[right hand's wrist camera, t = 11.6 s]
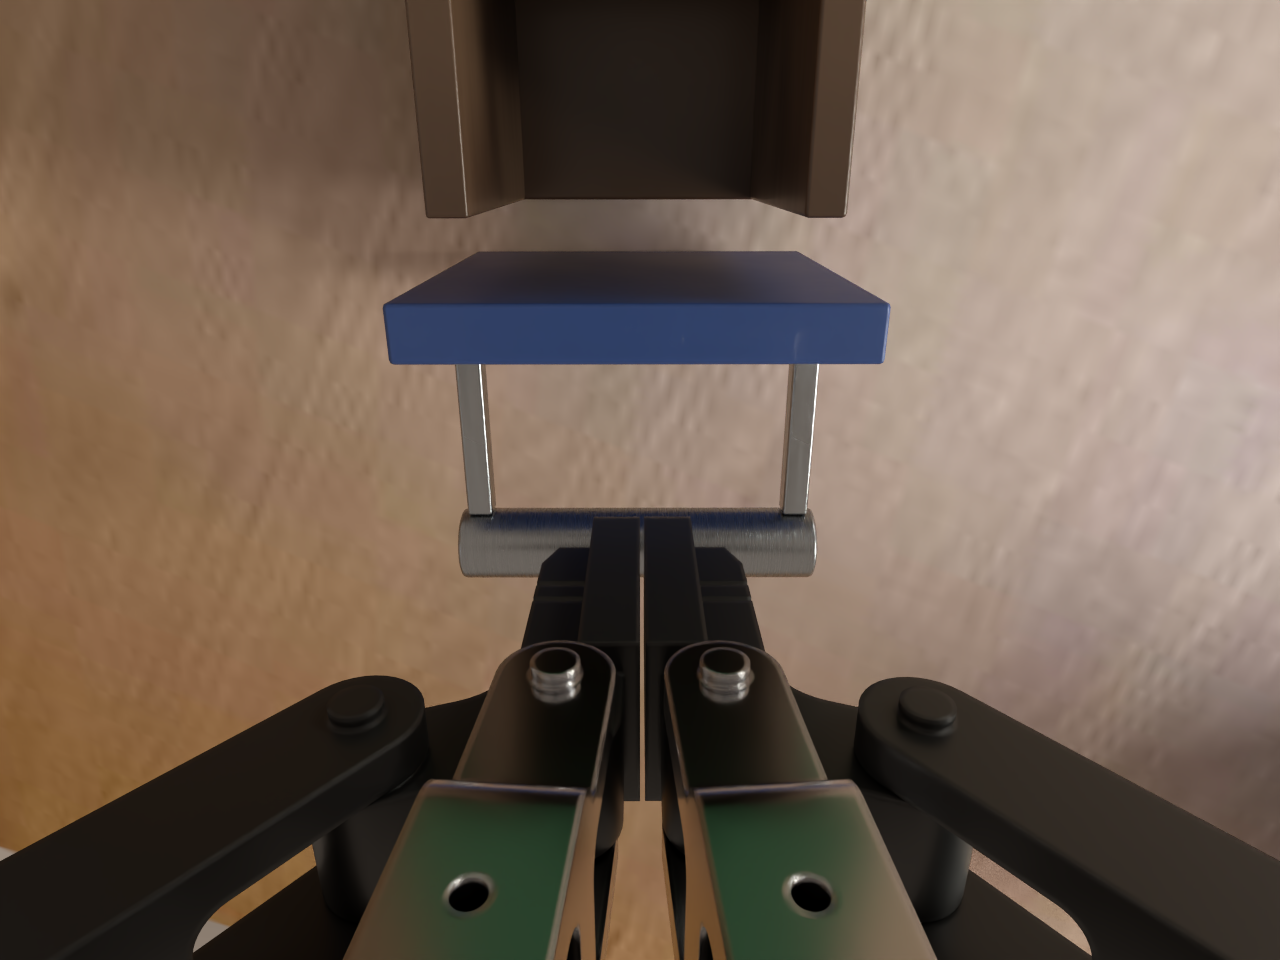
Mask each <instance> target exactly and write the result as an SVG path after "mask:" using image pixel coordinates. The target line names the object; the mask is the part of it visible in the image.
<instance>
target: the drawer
mask: <svg viewBox="0 0 1280 960" xmlns="http://www.w3.org/2000/svg"><path fill="white" fill-rule="evenodd" d="M405 4H406V15H407V25H408V35H409V46H410V56H411V66H412V77H413V87H414V97H415V108H416V118H417V128H418V139H419V149H420V159H421V170H422V180H423V190H424V201H425V211H426V216H427V217H428V218H468V217H471V216H474V215H477V214H480V213H483V212H486V211H489V210H492V209H495V208H499V207H502V206H505V205H508V204H511V203H514V202H517V201H520V200H523V199H754V200H757V201H760V202H763V203H766V204H769V205H772V206H775V207H778V208H781V209H784V210H787V211H790V212H793V213H796V214H799V215H802V216H805V217H808V218H842V217H845V216H846V214H847V206H848V195H849V184H850V173H851V162H852V151H853V140H854V129H855V119H856V108H857V97H858V86H859V75H860V64H861V53H862V42H863V31H864V20H865V9H866V0H405ZM890 308H891V307H890V304H889V303H887V302H885V301H883V300H882V299H880V298H878V297H876V296H875V295H873V294H871V293H869V292H868V291H866V290H864V289H862V288H861V287H859V286H857V285H855V284H853V283H852V282H850V281H848V280H846V279H845V278H843V277H841V276H839V275H838V274H836V273H834V272H832V271H831V270H829V269H827V268H825V267H824V266H822V265H820V264H818V263H817V262H815V261H813V260H811V259H810V258H808V257H806V256H804V255H803V254H801V253H799V252H797V251H709V252H477V253H475V254H474V255H472V256H470V257H468V258H466V259H465V260H463V261H461V262H459V263H457V264H456V265H454V266H452V267H450V268H448V269H447V270H445V271H443V272H441V273H439V274H438V275H436V276H434V277H432V278H431V279H429V280H427V281H425V282H423V283H422V284H420V285H418V286H416V287H414V288H413V289H411V290H409V291H407V292H405V293H404V294H402V295H400V296H398V297H396V298H395V299H393V300H391V301H389V302H387V303H386V304H384V306H383V314H384V322H385V331H386V339H387V347H388V355H389V361H390V363H392V364H394V365H399V364H455V369H456V380H457V392H458V403H459V414H460V425H461V436H462V447H463V458H464V470H465V481H466V492H467V503H468V509H465V510H464V512H463V514H462V517H461V521H460V526H459V535H458V554H459V563H460V567H461V571H462V573H463V575H464V576H466V577H539V573H540V569H541V565H542V563H543V562H544V561H545V560H546V559H547V558H548V557H549V556H550V555H552V554H553V553H554V552H555V551H556V550H557V549H558V548H559V547H590V541H591V533H592V526H593V518H594V517H640V577H644V517H690V518H691V524H692V531H693V538H694V545H695V547H725V548H726V549H727V550H728V551H729V552H731V553H732V554H733V555H734V556H735V557H736V558H737V559H738V560H739V561H740V562H742V564H743V568H744V571H745V575H746V577H809V576H811V575H812V574H813V571H814V568H815V564H816V557H817V533H816V525H815V520H814V516H813V514H812V511H811V510H810V509H808V508H807V504H808V492H809V480H810V469H811V457H812V445H813V433H814V421H815V410H816V398H817V386H818V374H819V364H881V363H883V361H884V359H885V351H886V342H887V334H888V325H889V316H890ZM485 364H789V375H788V389H787V403H786V417H785V431H784V446H783V460H782V474H781V488H780V502H779V505H780V507H781V508H495V506H496V500H495V486H494V473H493V460H492V446H491V433H490V420H489V407H488V393H487V380H486V367H485Z"/></svg>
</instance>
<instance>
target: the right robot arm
mask: <svg viewBox="0 0 1280 960" xmlns="http://www.w3.org/2000/svg"><path fill="white" fill-rule="evenodd" d="M533 598H534V600H533V601H532V605H531V610H530V614H529V618H528V622H527V626H526V630H525V634H524V638H523V642H522V646H521V649H520V650H518V651H516V652H514V653H513V654H511V655H510V656H508V657H507V658H506V659H505V660H504V661H503V662H502V663H501V664H500V666H499V667H498V669H497V671H496V673H495V676H494V678H493V681H492V683H491V686H490V688H489V690H488V691H486V692H484V693H482V694H479V695H476V696H474V697H471V698H468V699H464V700H460V701H456V702H451V703H446V704H442V705H437V706H432V707H428V708H425V705H424V698H423V696H422V693H421V692H420V691H419V690H418V688H417V687H415V686H414V685H413V684H411V683H410V682H408V681H405V680H403V679H400V678H396V677H390V676H376V675H375V676H363V677H357V678H352V679H348V680H344V681H341V682H338V683H335V684H333V685H330V686H328V687H326V688H324V689H322V690H320V691H318V692H316V693H314V694H312V695H310V696H309V697H307V698H305V699H303V700H301V701H299V702H297V703H296V704H294V705H292V706H290V707H288V708H286V709H284V710H282V711H281V712H279V713H277V714H275V715H273V716H271V717H269V718H267V719H266V720H264V721H262V722H260V723H258V724H256V725H254V726H252V727H251V728H249V729H247V730H245V731H243V732H241V733H239V734H237V735H236V736H234V737H232V738H230V739H228V740H226V741H224V742H223V743H221V744H219V745H217V746H215V747H213V748H211V749H209V750H208V751H206V752H204V753H202V754H200V755H198V756H196V757H194V758H193V759H191V760H189V761H187V762H185V763H183V764H181V765H179V766H178V767H176V768H174V769H172V770H170V771H168V772H166V773H164V774H163V775H161V776H159V777H157V778H155V779H153V780H151V781H149V782H148V783H146V784H144V785H142V786H140V787H138V788H136V789H135V790H133V791H131V792H129V793H127V794H125V795H123V796H121V797H120V798H118V799H116V800H114V801H112V802H110V803H108V804H106V805H105V806H103V807H101V808H99V809H97V810H95V811H93V812H91V813H90V814H88V815H86V816H84V817H82V818H80V819H78V820H76V821H75V822H73V823H71V824H69V825H67V826H65V827H63V828H62V829H60V830H58V831H56V832H54V833H52V834H50V835H48V836H47V837H45V838H43V839H41V840H39V841H37V842H35V843H33V844H32V845H30V846H28V847H26V848H24V849H22V850H20V851H18V852H17V853H15V854H13V855H11V856H9V857H7V858H5V859H3V860H2V861H0V960H605V959H606V951H607V943H608V935H609V927H610V919H611V911H612V902H613V894H614V886H615V878H616V870H617V862H618V837H619V835H620V833H621V830H622V826H623V811H624V801H640V517H594V518H593V526H592V533H591V541H590V547H559V548H558V549H557V550H556V551H555V552H554V553H553V554H552V555H550V556H549V557H548V558H547V559H546V560H545V561H544V562H543V563H542V565H541V569H540V573H539V577H538V581H537V586H536V589H535V593H534V597H533ZM644 717H645V801H662V862H663V870H664V878H665V886H666V894H667V902H668V911H669V919H670V927H671V935H672V943H673V951H674V959H675V960H1280V861H1278V860H1277V859H1275V858H1273V857H1271V856H1269V855H1267V854H1265V853H1263V852H1262V851H1260V850H1258V849H1256V848H1254V847H1252V846H1250V845H1248V844H1247V843H1245V842H1243V841H1241V840H1239V839H1237V838H1235V837H1234V836H1232V835H1230V834H1228V833H1226V832H1224V831H1222V830H1220V829H1219V828H1217V827H1215V826H1213V825H1211V824H1209V823H1207V822H1205V821H1204V820H1202V819H1200V818H1198V817H1196V816H1194V815H1192V814H1190V813H1189V812H1187V811H1185V810H1183V809H1181V808H1179V807H1177V806H1175V805H1174V804H1172V803H1170V802H1168V801H1166V800H1164V799H1162V798H1160V797H1159V796H1157V795H1155V794H1153V793H1151V792H1149V791H1147V790H1146V789H1144V788H1142V787H1140V786H1138V785H1136V784H1134V783H1132V782H1131V781H1129V780H1127V779H1125V778H1123V777H1121V776H1119V775H1117V774H1116V773H1114V772H1112V771H1110V770H1108V769H1106V768H1104V767H1102V766H1101V765H1099V764H1097V763H1095V762H1093V761H1091V760H1089V759H1087V758H1086V757H1084V756H1082V755H1080V754H1078V753H1076V752H1074V751H1072V750H1071V749H1069V748H1067V747H1065V746H1063V745H1061V744H1059V743H1058V742H1056V741H1054V740H1052V739H1050V738H1048V737H1046V736H1044V735H1043V734H1041V733H1039V732H1037V731H1035V730H1033V729H1031V728H1029V727H1028V726H1026V725H1024V724H1022V723H1020V722H1018V721H1016V720H1014V719H1013V718H1011V717H1009V716H1007V715H1005V714H1003V713H1001V712H999V711H998V710H996V709H994V708H992V707H990V706H988V705H986V704H985V703H983V702H981V701H979V700H977V699H975V698H973V697H971V696H970V695H968V694H966V693H964V692H962V691H960V690H958V689H956V688H954V687H951V686H949V685H946V684H943V683H940V682H936V681H933V680H928V679H922V678H914V677H896V678H890V679H885V680H882V681H879V682H877V683H875V684H872V685H871V686H870V687H868V688H867V689H866V690H865V691H864V692H863V694H862V695H861V697H860V700H859V705H858V707H855V706H850V705H845V704H841V703H836V702H831V701H827V700H823V699H819V698H815V697H813V696H810V695H807V694H805V693H802V692H800V691H798V690H796V689H794V688H793V687H791V686H789V683H788V681H787V678H786V676H785V673H784V671H783V669H782V667H781V666H780V664H779V663H778V662H777V661H776V660H775V659H774V658H773V657H772V656H770V655H769V654H767V653H766V652H765V650H764V646H763V642H762V638H761V634H760V630H759V626H758V622H757V618H756V614H755V611H754V607H753V603H752V601H751V595H750V591H749V587H748V585H747V579H746V575H745V571H744V568H743V564H742V562H740V561H739V560H738V559H737V558H736V557H735V556H734V555H733V554H732V553H731V552H729V551H728V550H727V549H726V548H725V547H695V545H694V538H693V531H692V524H691V518H690V517H644ZM311 844H312V846H313V850H314V855H315V860H316V866H315V867H314V868H312V869H311V870H309V871H308V872H307V873H305V874H304V875H302V876H301V877H300V878H298V879H297V880H295V881H294V882H292V883H291V884H290V885H288V886H287V887H285V888H284V889H283V890H281V891H280V892H278V893H277V894H276V895H274V896H273V897H271V898H270V899H268V900H267V901H266V902H264V903H263V904H261V905H260V906H259V907H257V908H256V909H254V910H253V911H252V912H250V913H249V914H247V915H246V916H245V917H243V918H242V919H240V920H239V921H237V922H236V923H235V924H233V925H232V926H230V927H229V928H228V929H226V930H225V931H223V932H222V933H221V934H219V935H218V936H216V937H215V938H213V939H212V940H211V941H209V942H208V943H206V944H205V945H204V946H202V947H201V948H199V949H198V950H197V951H195V952H194V953H193V948H194V944H195V941H196V939H197V936H198V934H199V933H200V931H201V929H202V927H203V926H204V925H205V923H206V922H207V921H208V919H209V918H210V917H211V916H212V915H213V914H214V913H215V912H216V911H217V910H218V909H219V908H220V907H221V906H223V905H224V904H225V903H227V902H228V901H229V900H231V899H232V898H234V897H235V896H237V895H238V894H240V893H241V892H243V891H244V890H245V889H247V888H248V887H250V886H251V885H253V884H254V883H256V882H257V881H259V880H260V879H262V878H263V877H264V876H266V875H267V874H269V873H270V872H272V871H273V870H275V869H276V868H278V867H279V866H281V865H282V864H283V863H285V862H286V861H288V860H289V859H291V858H292V857H294V856H295V855H297V854H298V853H300V852H301V851H302V850H304V849H305V848H307V847H308V846H310V845H311ZM973 848H975V849H976V850H978V851H979V852H980V853H982V854H983V855H985V856H986V857H988V858H989V859H991V860H992V861H994V862H995V863H997V864H998V865H999V866H1001V867H1002V868H1004V869H1005V870H1007V871H1008V872H1010V873H1011V874H1013V875H1014V876H1016V877H1017V878H1018V879H1020V880H1021V881H1023V882H1024V883H1026V884H1027V885H1029V886H1030V887H1032V888H1033V889H1035V890H1036V891H1037V892H1039V893H1040V894H1042V895H1043V896H1045V897H1046V898H1048V899H1049V900H1051V901H1052V902H1054V903H1055V904H1056V905H1058V906H1059V907H1060V908H1062V909H1063V910H1064V911H1065V912H1066V913H1068V914H1069V915H1070V916H1071V917H1072V919H1073V920H1074V921H1075V922H1076V923H1077V924H1078V926H1079V927H1080V928H1081V930H1082V931H1083V933H1084V935H1085V937H1086V938H1087V941H1088V943H1089V945H1090V949H1091V953H1092V956H1091V955H1089V954H1088V953H1086V952H1085V951H1083V950H1082V949H1081V948H1079V947H1078V946H1076V945H1075V944H1074V943H1072V942H1071V941H1069V940H1068V939H1067V938H1065V937H1064V936H1062V935H1061V934H1059V933H1058V932H1057V931H1055V930H1054V929H1052V928H1051V927H1050V926H1048V925H1047V924H1045V923H1044V922H1043V921H1041V920H1040V919H1038V918H1037V917H1036V916H1034V915H1033V914H1031V913H1030V912H1028V911H1027V910H1026V909H1024V908H1023V907H1021V906H1020V905H1019V904H1017V903H1016V902H1014V901H1013V900H1012V899H1010V898H1009V897H1007V896H1006V895H1004V894H1003V893H1002V892H1000V891H999V890H997V889H996V888H995V887H993V886H992V885H990V884H989V883H988V882H986V881H985V880H983V879H982V878H980V877H979V876H978V875H976V874H975V873H973V872H972V871H971V870H969V865H970V860H971V855H972V851H973Z"/></svg>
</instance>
